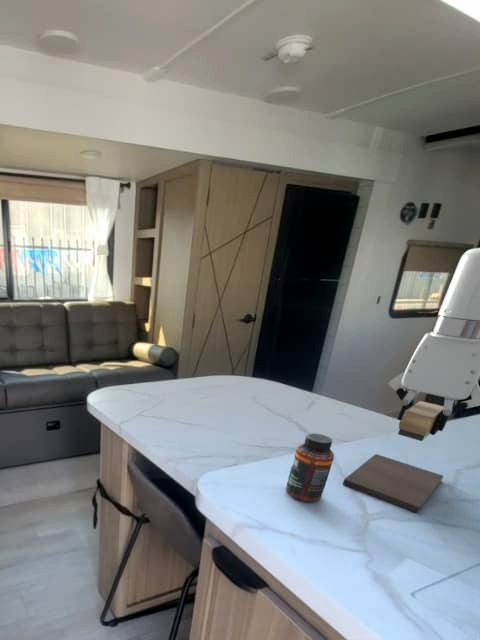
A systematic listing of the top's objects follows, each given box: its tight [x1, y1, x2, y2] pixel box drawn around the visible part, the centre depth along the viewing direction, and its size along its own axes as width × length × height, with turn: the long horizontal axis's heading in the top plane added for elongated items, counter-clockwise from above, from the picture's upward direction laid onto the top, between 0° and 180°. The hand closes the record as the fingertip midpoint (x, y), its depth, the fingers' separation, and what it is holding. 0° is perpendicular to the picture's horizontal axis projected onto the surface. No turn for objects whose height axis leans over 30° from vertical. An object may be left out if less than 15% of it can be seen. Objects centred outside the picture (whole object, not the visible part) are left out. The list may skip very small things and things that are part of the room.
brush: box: [397, 400, 444, 442], centre depth 76 cm, size 10×4×5 cm, turn 131°
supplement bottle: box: [285, 432, 335, 503], centre depth 71 cm, size 6×6×11 cm
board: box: [342, 453, 444, 514], centre depth 79 cm, size 18×12×1 cm, turn 131°
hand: (418, 427), depth 76 cm, fingers closed on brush, 4 cm apart
